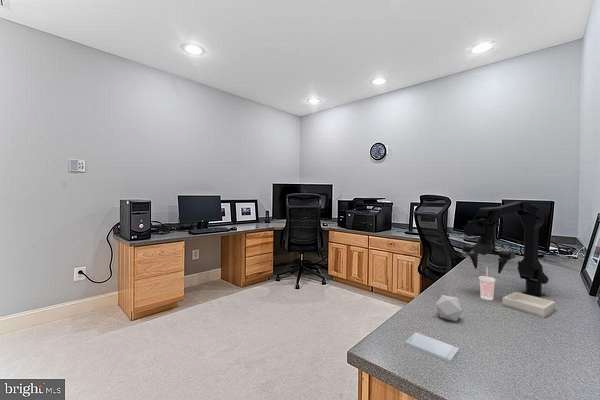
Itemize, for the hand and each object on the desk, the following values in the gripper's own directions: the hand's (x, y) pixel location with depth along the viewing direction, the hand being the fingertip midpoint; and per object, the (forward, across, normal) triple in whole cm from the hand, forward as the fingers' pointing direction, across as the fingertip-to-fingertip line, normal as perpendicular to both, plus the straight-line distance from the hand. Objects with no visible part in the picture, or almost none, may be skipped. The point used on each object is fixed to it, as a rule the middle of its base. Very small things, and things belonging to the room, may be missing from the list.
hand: (487, 270), depth 117 cm
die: (+12, +2, -35) cm, 37 cm away
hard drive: (+13, +10, -59) cm, 61 cm away
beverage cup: (+12, 0, 0) cm, 12 cm away
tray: (+12, +14, +2) cm, 19 cm away
